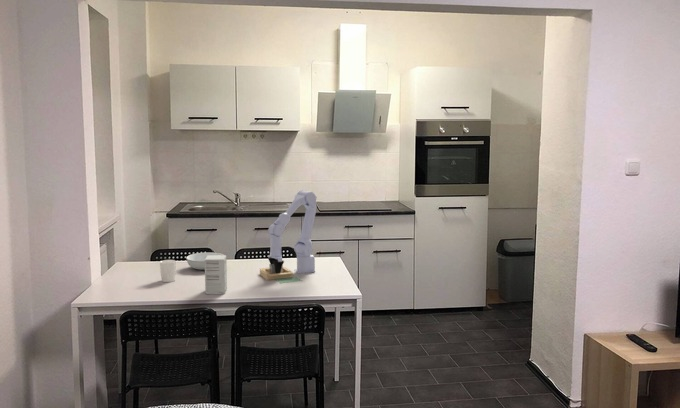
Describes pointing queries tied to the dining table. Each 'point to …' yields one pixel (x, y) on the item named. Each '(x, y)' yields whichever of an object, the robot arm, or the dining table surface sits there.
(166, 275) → the white cup
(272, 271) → the grey box
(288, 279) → the flat green panel
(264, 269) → the tan wooden shallow tray
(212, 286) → the supplement box
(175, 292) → the dining table surface
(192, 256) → the serving bowl
